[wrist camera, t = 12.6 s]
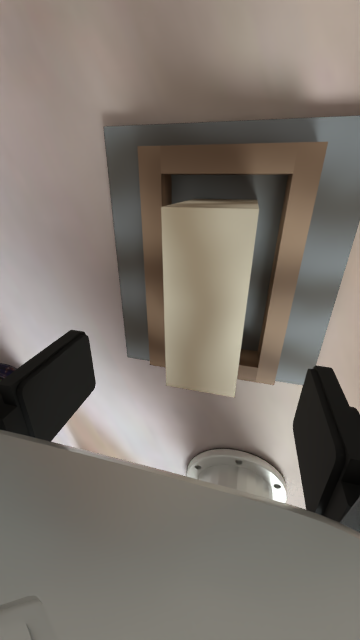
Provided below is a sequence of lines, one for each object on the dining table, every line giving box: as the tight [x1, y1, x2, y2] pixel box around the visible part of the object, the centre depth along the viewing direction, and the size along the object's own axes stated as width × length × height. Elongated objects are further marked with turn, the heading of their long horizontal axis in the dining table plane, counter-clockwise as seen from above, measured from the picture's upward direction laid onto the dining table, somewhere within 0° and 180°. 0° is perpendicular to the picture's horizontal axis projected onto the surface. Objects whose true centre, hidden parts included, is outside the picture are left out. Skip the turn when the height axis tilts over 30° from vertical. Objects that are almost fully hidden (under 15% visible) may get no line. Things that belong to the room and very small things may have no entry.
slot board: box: [104, 116, 360, 385], centre depth 21 cm, size 20×18×4 cm
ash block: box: [161, 199, 259, 398], centre depth 18 cm, size 4×11×8 cm, turn 0°
